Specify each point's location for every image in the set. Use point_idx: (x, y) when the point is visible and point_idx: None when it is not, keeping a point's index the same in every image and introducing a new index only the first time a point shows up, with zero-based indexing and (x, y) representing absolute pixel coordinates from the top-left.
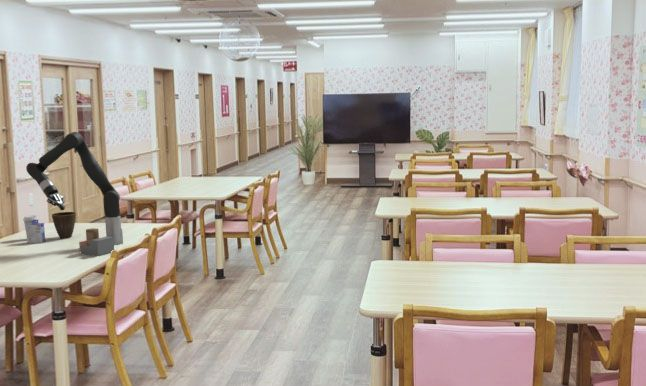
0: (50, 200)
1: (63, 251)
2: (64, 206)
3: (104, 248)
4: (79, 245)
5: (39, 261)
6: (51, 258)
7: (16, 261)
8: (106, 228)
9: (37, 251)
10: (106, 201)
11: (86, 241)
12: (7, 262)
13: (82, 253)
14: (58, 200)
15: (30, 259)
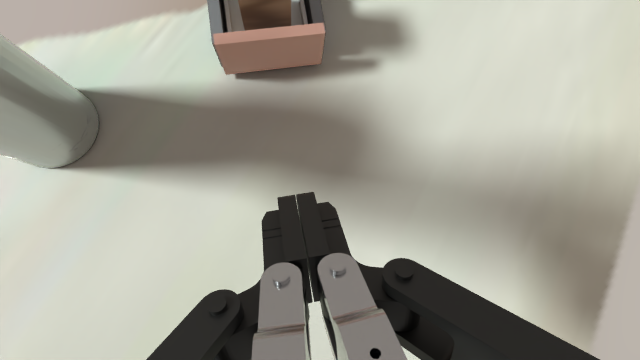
0: (546, 337)
1: (344, 179)
2: (263, 228)
3: None
4: (323, 44)
5: (523, 74)
6: (460, 83)
7: (595, 161)
8: (30, 94)
9: None
10: None
11: (280, 29)
12: (631, 177)
13: None
14: (338, 320)
15: (535, 146)
